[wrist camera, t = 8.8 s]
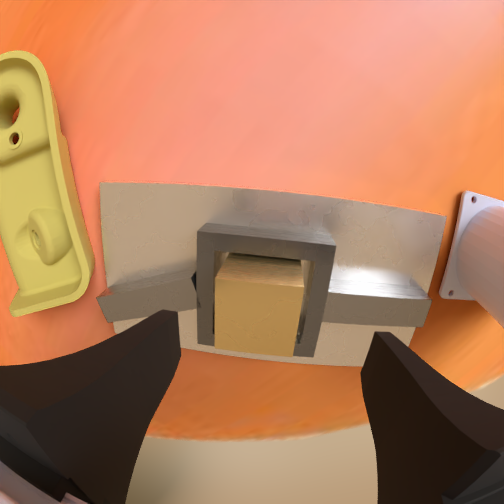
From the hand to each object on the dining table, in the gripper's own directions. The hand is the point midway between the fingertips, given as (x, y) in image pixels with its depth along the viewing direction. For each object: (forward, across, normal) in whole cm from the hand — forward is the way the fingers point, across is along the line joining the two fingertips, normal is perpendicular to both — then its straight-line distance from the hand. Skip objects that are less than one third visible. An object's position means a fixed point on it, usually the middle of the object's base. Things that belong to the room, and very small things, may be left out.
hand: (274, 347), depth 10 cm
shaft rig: (+9, +1, +2) cm, 9 cm away
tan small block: (+8, +1, +1) cm, 9 cm away
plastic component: (+10, +20, -5) cm, 23 cm away
